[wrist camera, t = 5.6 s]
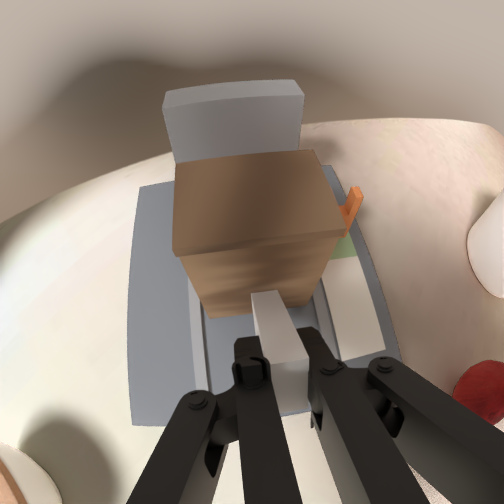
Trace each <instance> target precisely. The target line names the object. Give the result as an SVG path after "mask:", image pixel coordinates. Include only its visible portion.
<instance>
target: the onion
mask: <svg viewBox="0 0 504 504" xmlns="http://www.w3.org/2000/svg"><path fill="white" fill-rule="evenodd" d="M452 398H454V399H455V400H456V401H458V402H459V403H461V404H462V405H464V406H465V407H467V408H468V409H470V410H471V411H473V412H474V413H476V414H477V415H478V416H480V417H481V418H483V419H484V420H486V421H487V422H489V423H490V424H492V425H495V424H496V423H498V422H499V421H500V420H502V419H503V418H504V363H503V362H499V361H493V360H486V361H482V362H480V363H478V364H476V365H474V366H472V367H470V368H469V369H468V370H467V371H466V372H465V373H464V374H463V376H462V377H461V378H460V379H459V381H458V383H457V385H456V387H455V389H454V392H453V396H452Z"/></svg>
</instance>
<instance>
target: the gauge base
mask: <svg viewBox="0 0 504 504" xmlns="http://www.w3.org/2000/svg"><path fill="white" fill-rule="evenodd" d="M304 98H305V95H304V93H303V92H302V90H301V89H300V87H299V86H298V85H297V83H296V82H295V80H294V79H293V80H291V79H287V80H286V79H285V80H284V79H283V80H254V81H238V82H227V83H217V84H209V85H201V86H195V87H188V88H182V89H176V90H171V91H166V95H165V98H164V102H163V106H162V111H163V116H164V120H165V124H166V128H167V132H168V136H169V140H170V144H171V148H172V151H173V155H174V159H175V163H182V162H188V161H195V160H202V159H209V158H217V157H225V156H233V155H243V154H253V153H265V152H278V151H295V150H298V146H299V139H300V131H301V123H302V115H303V107H304ZM321 167H322V170H323V172H324V174H325V176H326V179H327V181H328V183H329V185H330V188H331V190H332V192H333V195H334V197H335V199H336V202H337V204H338V206H340V205H345V202H346V200H347V198H346V196H345V194H344V192H343V190H342V187H341V185H340V183H339V181H338V179H337V177H336V175H335V173H334V171H333V168H332V166H331V165H327V166H321ZM174 183H175V181H171V182H165V183H159V184H153V185H148V186H143V187H140V190H139V196H138V202H137V209H136V216H135V223H134V231H133V240H132V249H131V260H130V272H129V288H128V312H127V358H128V381H129V396H130V408H131V418H132V425H137V426H167V424H168V422H169V420H170V418H171V416H172V414H173V412H174V410H175V408H176V406H177V404H178V403H179V401H180V399H181V398H182V397H183V395H185V394H187V393H188V392H191V391H194V390H206V391H210V392H211V393H213V394H214V395H217V394H220V393H223V392H225V391H227V390H228V389H230V388H231V387H232V386H233V385H234V379H233V374H232V364H233V363H234V362H235V360H234V343H235V341H236V340H237V338H242V337H249V336H256V334H255V325H254V317H253V313H252V314H245V315H237V316H229V317H221V318H212V319H209V317H208V315H207V313H206V311H205V309H204V307H203V305H202V303H201V301H200V299H199V297H198V295H197V293H196V291H195V289H194V287H193V285H192V283H191V281H190V279H189V277H188V275H187V273H186V271H185V269H184V267H183V265H182V263H181V260H180V258H179V257H175V255H174V253H173V251H172V225H173V200H174ZM286 309H287V311H288V314H289V316H290V318H291V320H292V322H293V324H294V326H295V328H296V329H298V328H303V327H309V326H312V327H314V328H315V329H317V330H318V331H319V332H320V334H321V335H322V338H323V339H324V340H325V343H326V344H327V345H328V347H329V349H330V350H331V352H332V354H333V355H334V357H335V359H338V360H341V361H343V362H344V363H345V364H346V365H347V366H348V367H350V368H368V365H369V363H370V361H371V360H373V359H374V358H377V357H380V356H388V357H393V358H395V359H397V360H398V361H400V362H401V363H402V359H401V355H400V351H399V347H398V343H397V339H396V336H395V332H394V328H393V325H392V321H391V318H390V314H389V311H388V308H387V305H386V301H385V298H384V295H383V292H382V289H381V286H380V283H379V280H378V277H377V274H376V271H375V268H374V266H373V263H372V260H371V257H370V255H369V252H368V249H367V247H366V244H365V242H364V239H363V237H362V234H361V232H360V229H359V227H358V224H357V222H356V219H355V218H354V220H353V222H352V224H351V227H350V229H349V231H348V233H347V235H346V237H344V238H339V239H338V242H337V244H336V246H335V248H334V250H333V253H332V255H331V257H330V259H329V261H328V263H327V265H326V267H325V270H324V272H323V274H322V276H321V278H320V280H319V282H318V284H317V286H316V288H315V290H314V292H313V294H312V296H311V298H310V300H309V302H308V304H307V305H305V306H299V307H293V308H286ZM308 411H311V405H310V403H309V401H308V408H306V409H301V410H296V411H291V412H285V413H280V416H281V417H283V416H289V415H294V414H299V413H304V412H308Z"/></svg>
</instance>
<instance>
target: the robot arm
mask: <svg viewBox="0 0 504 504" xmlns="http://www.w3.org/2000/svg"><path fill="white" fill-rule="evenodd" d="M251 299H252V308H253V317H254V325H255V334H256V336H249V337H242V338H237V340H236V341H235V343H234V360H235V362H234V363H233V364H232V374H233V379H234V385H233V386H232V387H231V388H230V389H228V390H227V391H225V392H223V393H220V394H217V395H214V394H213V393H211V392H210V391H206V390H194V391H191V392H188V393H187V394H185V395H183V397H182V398H181V399H180V401H179V403H178V404H177V406H176V408H175V410H174V412H173V414H172V416H171V418H170V420H169V422H168V424H167V426H166V428H165V430H164V432H163V434H162V435H161V437H160V439H159V441H158V443H157V445H156V447H155V449H154V451H153V453H152V455H151V457H150V459H149V461H148V462H147V464H146V466H145V468H144V470H143V472H142V474H141V476H140V478H139V480H138V482H137V484H136V486H135V487H134V489H133V491H132V493H131V495H130V497H129V499H128V501H127V503H126V504H212V500H213V497H214V494H215V490H216V487H217V484H218V480H219V477H220V474H221V470H222V467H223V463H224V460H225V456H226V453H227V449H228V444H229V443H231V442H234V441H237V440H239V447H240V459H241V470H242V480H243V490H244V500H245V504H303V503H302V499H301V495H300V491H299V487H298V484H297V480H296V476H295V472H294V468H293V464H292V460H291V456H290V452H289V448H288V444H287V440H286V436H285V432H284V428H283V424H282V420H281V416H280V413H285V412H291V411H296V410H301V409H306V408H308V401H309V403H310V405H311V428H313V427H314V426H315V429H316V431H317V434H318V437H319V440H320V442H321V445H322V448H323V451H324V454H325V456H326V459H327V462H328V465H329V467H330V470H331V473H332V476H333V479H334V481H335V484H336V487H337V490H338V492H339V495H340V498H341V501H342V504H430V502H429V501H428V499H427V497H426V495H425V494H424V492H423V490H422V488H421V487H420V485H419V483H418V482H417V480H416V478H415V476H414V475H413V473H412V471H411V470H410V468H409V466H408V464H409V465H410V466H411V467H412V468H413V469H414V470H415V471H417V472H418V473H419V474H420V475H421V476H422V477H423V478H424V479H425V480H426V481H427V482H428V483H430V484H431V485H432V486H433V487H434V488H435V489H436V490H437V491H438V492H440V493H441V494H442V495H443V496H444V497H445V498H446V499H447V500H449V501H450V502H451V503H452V504H504V432H502V431H501V430H499V429H498V428H496V427H495V426H493V425H492V424H490V423H489V422H487V421H486V420H484V419H483V418H481V417H480V416H478V415H477V414H476V413H474V412H473V411H471V410H470V409H468V408H467V407H465V406H464V405H462V404H461V403H459V402H458V401H456V400H455V399H454V398H452V397H451V396H449V395H448V394H446V393H445V392H443V391H442V390H440V389H439V388H438V387H436V386H435V385H433V384H432V383H430V382H429V381H427V380H426V379H424V378H423V377H422V376H420V375H419V374H417V373H416V372H414V371H413V370H411V369H410V368H408V367H407V366H406V365H404V364H403V363H401V362H400V361H398V360H397V359H395V358H393V357H388V356H380V357H377V358H374V359H373V360H371V361H370V363H369V365H368V368H350V367H348V366H347V365H346V364H345V363H344V362H343V361H341V360H338V359H335V357H334V355H333V354H332V352H331V350H330V349H329V347H328V345H327V344H326V343H325V340H324V339H323V338H322V335H321V334H320V332H319V331H318V330H317V329H315V328H314V327H312V326H309V327H303V328H298V329H296V328H295V326H294V324H293V322H292V320H291V318H290V316H289V314H288V311H287V309H286V307H285V305H284V303H283V301H282V299H281V297H280V295H279V292H278V290H272V291H265V292H257V293H251ZM406 462H407V463H408V464H407V463H406Z"/></svg>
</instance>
